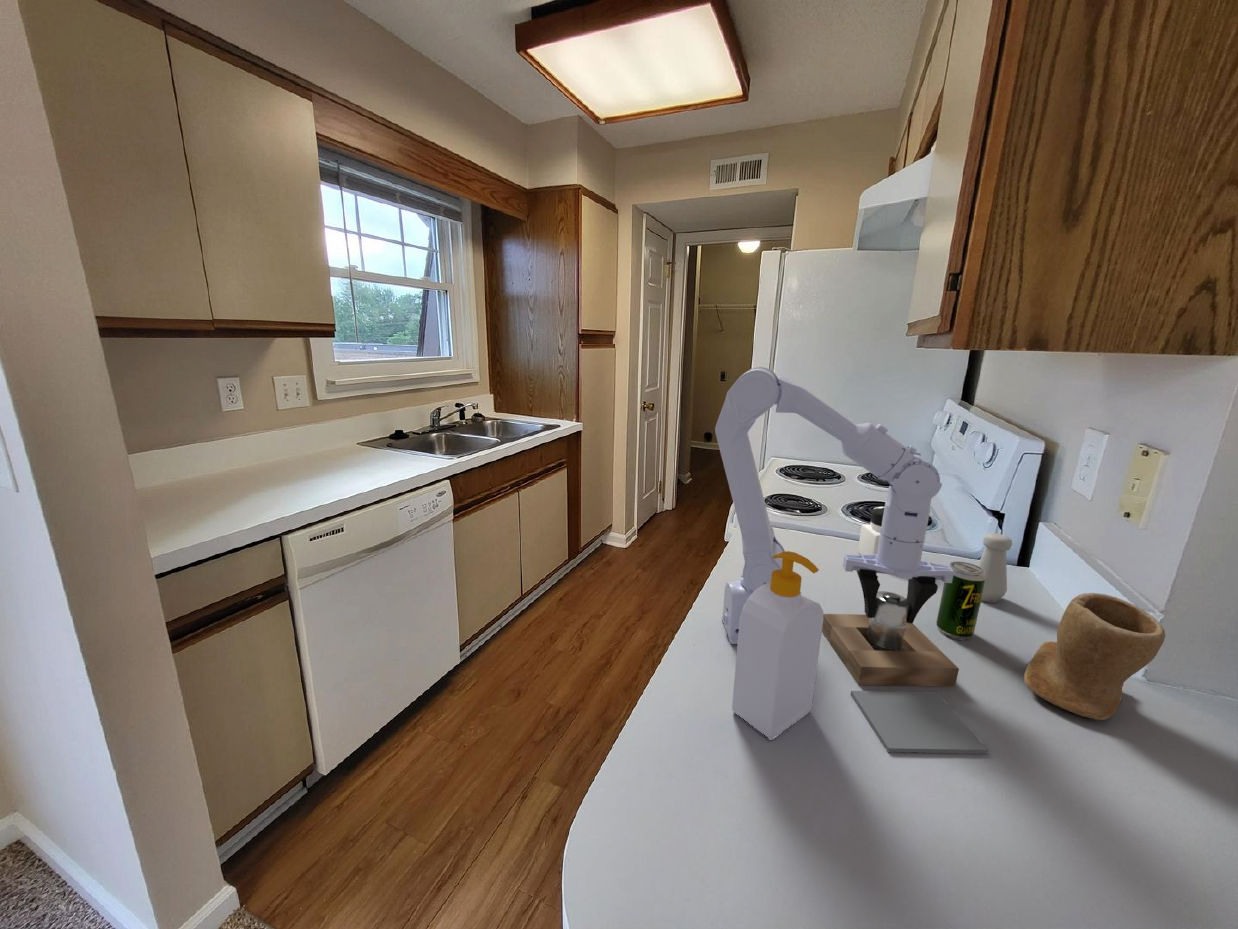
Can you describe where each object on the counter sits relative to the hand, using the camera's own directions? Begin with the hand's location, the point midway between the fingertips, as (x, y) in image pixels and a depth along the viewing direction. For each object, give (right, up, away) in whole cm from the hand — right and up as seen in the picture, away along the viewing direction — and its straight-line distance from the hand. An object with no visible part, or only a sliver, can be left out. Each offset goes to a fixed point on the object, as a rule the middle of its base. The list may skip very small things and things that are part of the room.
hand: (888, 617), depth 76 cm
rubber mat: (-3, -10, -12) cm, 16 cm away
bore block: (0, -7, +2) cm, 7 cm away
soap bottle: (-21, -10, -11) cm, 26 cm away
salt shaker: (+30, -3, +20) cm, 36 cm away
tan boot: (+24, -9, -6) cm, 26 cm away
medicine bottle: (+18, +2, +37) cm, 41 cm away
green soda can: (+16, -5, +9) cm, 19 cm away
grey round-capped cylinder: (0, -4, +1) cm, 4 cm away
